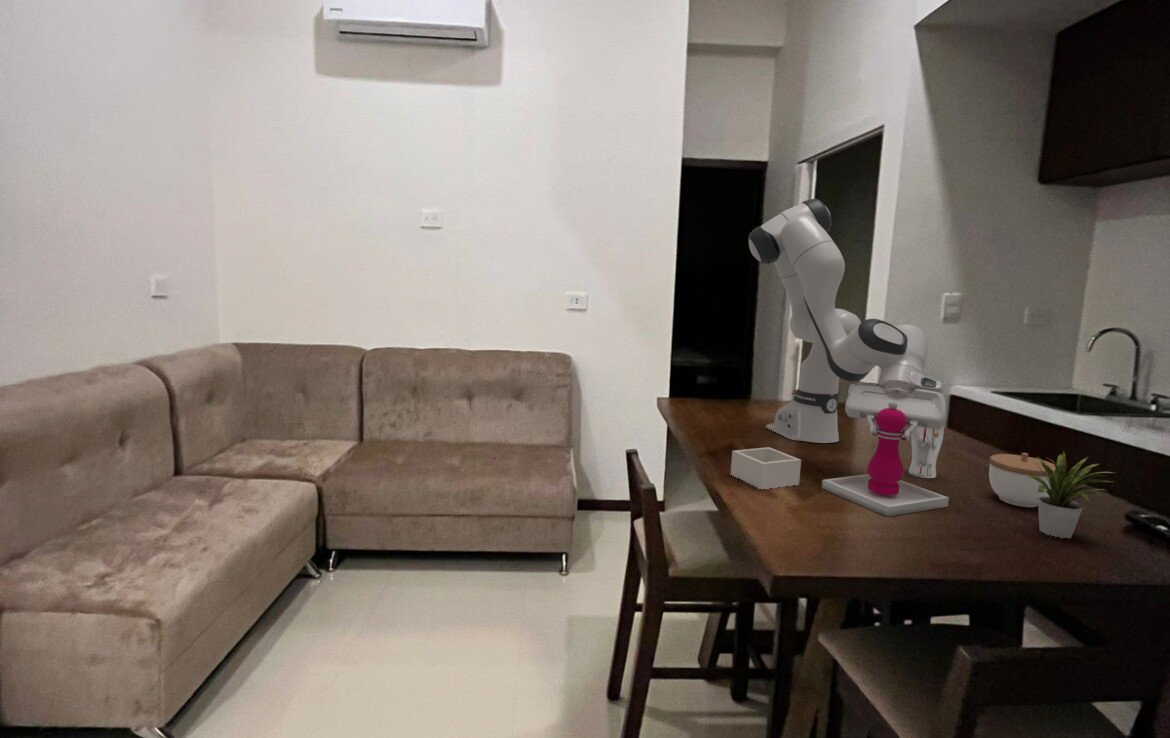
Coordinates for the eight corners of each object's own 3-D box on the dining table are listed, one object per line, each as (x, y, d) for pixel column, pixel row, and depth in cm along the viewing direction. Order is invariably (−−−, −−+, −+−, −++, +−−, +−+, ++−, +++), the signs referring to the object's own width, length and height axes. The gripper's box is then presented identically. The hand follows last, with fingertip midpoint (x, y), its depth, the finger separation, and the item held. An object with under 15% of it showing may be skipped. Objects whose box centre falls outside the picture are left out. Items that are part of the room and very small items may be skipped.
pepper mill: (873, 482, 148) (882, 396, 145) (906, 491, 143) (917, 402, 140) (859, 489, 143) (869, 400, 140) (893, 498, 138) (904, 406, 135)
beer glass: (906, 475, 160) (913, 416, 157) (907, 468, 166) (913, 411, 163) (938, 481, 156) (945, 420, 154) (937, 473, 162) (945, 415, 160)
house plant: (1070, 555, 116) (1084, 467, 113) (994, 526, 128) (1006, 446, 126) (1116, 544, 122) (1131, 460, 119) (1040, 517, 134) (1052, 441, 132)
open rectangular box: (730, 475, 154) (732, 450, 153) (767, 470, 159) (769, 447, 158) (760, 490, 144) (763, 464, 143) (798, 485, 149) (801, 459, 148)
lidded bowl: (972, 495, 147) (978, 447, 145) (1008, 489, 152) (1015, 444, 150) (1028, 514, 136) (1036, 464, 134) (1065, 508, 141) (1073, 459, 139)
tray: (821, 488, 147) (822, 479, 147) (878, 480, 155) (879, 472, 154) (887, 516, 131) (888, 507, 131) (947, 506, 139) (948, 497, 138)
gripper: (850, 372, 150) (837, 421, 143) (950, 383, 140) (942, 436, 133) (851, 388, 155) (839, 436, 148) (949, 400, 144) (941, 452, 137)
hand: (889, 436), depth 140 cm, fingers closed on pepper mill, 5 cm apart
